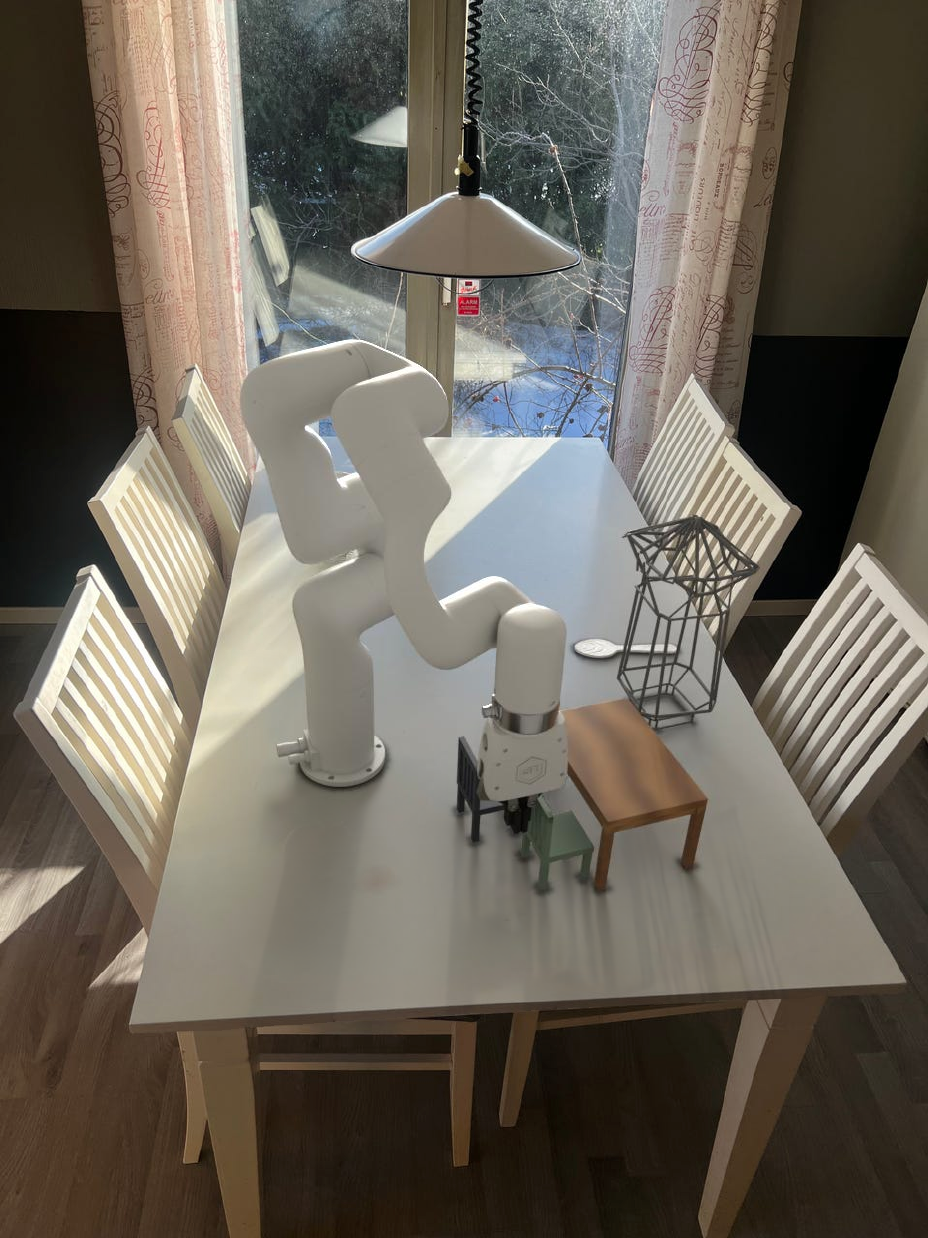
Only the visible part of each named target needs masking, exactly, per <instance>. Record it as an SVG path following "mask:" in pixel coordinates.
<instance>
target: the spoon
mask: <svg viewBox="0 0 928 1238" xmlns="http://www.w3.org/2000/svg"><path fill="white" fill-rule="evenodd" d="M664 644H665V643H656V644H655V649H654V653H653V654H663V651H664ZM651 645H652V643H650V644H646V643H645V644H632V646H631V650H630V653H644V654H647V653H648V654H650V650H651ZM623 647H624V644H615V643H613V642H611V641H609V640H607V639H603V638H589V639H584V640H581V641H578V642H577V643H575V645H574V651H575V652H576V653H578V654H579V655H582V656H584V657H588V658H594V659H606V658H610V657H612V656H614V655H616V653H620V652H621V653H622V652H623ZM627 648H628V645H627ZM676 649H677V646H676V645H674V644H673V643H668V649H667V654H675V653H676ZM626 652H627V649H626Z"/></svg>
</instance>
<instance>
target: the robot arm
mask: <svg viewBox="0 0 928 1238" xmlns="http://www.w3.org/2000/svg"><path fill="white" fill-rule="evenodd" d="M239 398H240V399H239V407H240V413H241V417H242V420H243V424H244V427H245V429H246V431H247V433H248V435H249V438H250V440H251V442H252V443H253V445H254V447H255V449H256V451H257V453H258V455H259V457H260V459H261V461H262V463H263V466H264V469H265V471H266V475H267V478H268V482H269V487H270V490H271V494H272V497H273V502H274V505H275V508H276V511H277V516H278V519H279V523H280V526H281V530H282V532H283V533H282V534H283V536H284V539H285V542H286V545H287V547H288V550H289V551H290V554H291V555H292V557H294V559H295V560H296V561H297V562H299V563H302V564H304V565H308V566H309V565H312V566H313V565H318V564H322V563H327V562H329V561H331V560H334V559H336V558H339V557H341V556H343V555H346V554H348V553H350V552H353V551H355V550H356V551H357V556H355V557H352V558H349V559H348V560H345V561H343V562H339V563H338V564H335V565H333V566H331V567H329V568H326V569H324V570H322V571H319V572H318V573H316V574H314V575H312V576H310V577H309V578H307V579H306V580H305V581H303V582H302V583H301V584H300V585H299V586H298V588H296V590H295V592H294V594H293V597H292V602H291V608H292V613H293V618H294V621H295V624H296V628H297V632H298V634H299V639H300V644H301V649H302V657H303V659H302V660H303V672H304V683H305V686H304V687H305V701H306V702H305V703H306V716H307V717H306V718H307V729H303V737H297V740H296V741H291V742H288V741H287V742H286V741H285V742H281V743H276V745H275V747H276V748H275V749H276V754H277V757H278V758H283V757H287V760H288V764H289V766H291V765H292V766H293V765H296V764H299V767H300V769H301V771H302V772H303V773H304V775H305V776H307V777H308V779H310V780H312V781H313V782H315V783H317V784H320V785H323V786H327V787H335V788H343V787H352V786H357V785H360V784H362V783H366V782H367V781H369V780H371V779H373V778H374V777H375V776H377V775H378V774H379V773H380V772H381V771H382V769H383V767H384V766H385V762H386V747H385V745H384V743H383V742H382V740H381V739H380V738H379V737H378V736H376V734H375V689H374V688H375V687H374V686H375V685H374V681H375V680H374V677H375V676H374V661H373V655H372V653H371V651H370V650H369V648H368V647H367V645H366V644H364V643H363V642H362V641H361V640H360V636H361V635H362V633H364V632H366V631H367V630H369V629H370V628H373V627H374V626H376V625H378V624H380V623H382V622H384V621H385V620H387V619H390V618H391V617H393V616H395V618H396V619H397V621H398V623H399V625H400V626H401V628H402V630H403V632H404V633H405V635H406V636H407V638H408V641H409V642H410V643H411V645H412V646H413V648H414V650H415V651H416V653H417V654H418V655H419V656H420V657H421V658H422V659H423V660H424V662H426V663H427V664H428V665H430V666H432V667H433V668H436V669H438V670H442V671H452V670H455V669H458V668H460V667H462V666H464V665H466V664H467V663H469V662H472V661H473V660H474V659H477V658H478V657H480V656H481V655H483V654H484V653H486V652H488V651H489V650H491V649H496V650H495V666H494V667H495V669H494V686H493V689H494V690H493V694H492V695H491V702H490V703H489V704H487V705H485V706H482V707H481V714H482V717H483V719H486V720H485V723H484V726H483V729H482V732H481V739H480V743H479V748H478V757H477V761H478V765H477V775H478V778H479V779H480V782H479V785H478V788H477V791H476V793H477V795H478V797H479V799H480V800H481V801H498V802H500V803H502V804H503V805H504V810H503V821H504V823H505V825H506V827H510V830H511V831H512V833H513V834H514V835H515V836H516V835H520V833H521V834H522V833H525V832H527V830H528V821H530V820H531V811H532V807H533V806H535V805H536V803H537V799H538V797H539V796H540V795H544V793H546V792H551V791H555V790H557V789H559V788H561V787H562V786H564V785H565V784H566V782H567V777H568V774H567V768H568V744H567V731H566V723H565V718H564V715H563V714H562V713H561V712H560V711H561V710H560V706H559V704H560V705H561V695H562V694H561V692H562V685H563V673H564V663H565V655H566V654H565V652H566V646H567V645H566V644H567V631H568V630H567V626H566V623H565V620H564V618H563V617H562V616H561V614H559V613H558V612H556V611H555V610H554V609H552V608H550V607H547V606H544V605H540V604H537V603H536V602H534V601H533V600H531V598H530V597H528V596H527V595H526V594H525V593H524V592H522V590H520V589H519V588H518V587H517V586H516V585H514V584H513V583H512V582H510V581H509V580H507V579H505V578H502V577H500V576H488V577H484V578H482V579H480V580H478V581H477V582H476V581H475V582H474V583H472V584H470V585H468V586H466V587H464V588H462V589H459V590H458V591H456V592H454V593H452V594H450V595H447V596H446V597H444V598H442V599H440V600H439V598H438V597H437V595H436V593H435V590H434V589H433V587H432V585H431V583H430V581H429V577H428V574H427V571H426V565H425V549H426V543H427V540H428V536H429V534H430V531H431V530H432V528H433V525H434V524H435V522H436V520H437V519H438V518H439V516H440V515H441V514H442V513H443V512H444V510H445V509H447V506H448V505H449V503H450V501H451V499H452V495H453V492H452V487H451V486H450V484H449V482H448V480H447V478H446V477H445V475H444V473H443V472H442V469H441V468H440V466H439V465H438V462H437V461H436V459H435V457H434V456H433V454H432V451H431V450H430V448H429V447H428V444H427V443H426V441H425V439H426V438H429V437H432V436H434V435H436V434H438V433H440V431H442V430H443V429H444V428H445V426H446V424H447V422H448V419H449V413H450V409H449V408H450V407H449V400H448V398H447V394H446V392H445V391H444V388H443V387H442V385H441V384H440V382H439V381H438V380H437V379H436V377H435V376H433V374H432V373H430V372H429V371H428V370H427V369H425V368H424V367H422V366H420V365H419V364H417V363H415V362H413V361H411V360H409V359H407V358H405V357H403V356H400V355H398V354H395V353H394V352H391V351H389V350H386V349H384V348H382V347H380V346H378V345H376V344H373V343H372V342H371V343H370V342H368V341H365V340H360V339H346V340H340V341H337V342H332V343H329V344H325V345H321V346H317V347H313V348H308V349H304V350H299V351H296V352H292V353H288V354H284V355H281V356H278V357H276V358H273V359H269V360H267V361H265V362H263V363H261V364H259V365H258V366H256V367H254V368H253V369H252V370H251V371H250V372H249V373H248V374H247V375H246V377H245V379H243V382H242V384H241V389H240V395H239ZM328 419H330V422H331V425H332V429H333V431H334V433H335V434H336V437H337V439H338V441H339V442H340V444H341V446H342V448H343V450H344V451H345V454H346V455H347V457H348V459H349V460H350V462H351V464H352V467H353V468H354V470H355V471H356V472H354V473H349V474H350V475H347V476H344V477H341V478H339V479H338V478H337V475H336V472H337V471H336V469H335V464H334V460H333V455H332V453H331V450H330V448H329V447H328V445H327V443H326V442H325V441H324V440H323V439H322V438H321V437H320V435H319V434H318V433H317V432H316V431H315V430H314V429H312V428H311V427H310V426H309V425H313V424H315V423H318V422H322V421H325V420H328Z"/></svg>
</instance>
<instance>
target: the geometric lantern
mask: <svg viewBox="0 0 928 1238" xmlns="http://www.w3.org/2000/svg"><path fill="white" fill-rule="evenodd" d="M671 526H672V527H671ZM666 527H671V528H669V529H667V530H665V531H656V530H657V529H661V528H666ZM652 530H655V531H652ZM705 530H706V531H707V532H708V533H709V534H710V535H711V536H713V537H714V539H716V540H717V541H718V545H719V549H720V553H721V557H722V560H721V561H720V562H719V563H718V564H717V565H716V563H715V560H714V557H713V554H712V551H711V549H710V545H709V542H708V539H707V537H706V534H705ZM646 536H660V537H658V538H657V539H656V540H654V541H653V540H652V539H649V538H647V537H646ZM635 537H636V538H638V539H640V540H642V541H643V542H645V543H648V545H647V546H645V547H643V545H641V544H640V543H639V542H638V541H637V540H636V538H635ZM668 537H669V538H668ZM700 537H701V539H702V544H703V546H704V548H705V552H706V554H707V558H708V560H709V563H710V567H711V569H712V570H710V572H709V573H707V575H705V576H704V577H700ZM621 538H622V539H624V538H627V540H628V542H629V546H630V548H631V550H632V552H633V555H634V557H635V559H636V564H635V565H636V566H635V571H636V572H640V573H641V574H642V576H641V580H640V581H641V582H639V583H638V584H635V585H634V588H635V593H634V598H633V602H632V606H631V611H630V615H629V620H628V625H627V629H626V634H625V638H624V643H623V645H624V647H623V652H621V657H620V661H619V665H618V671H617V675H616V680H617V681H618V682H619V684H620V686H621V687H622V689H623V691H624V692H625V694H626V696H627V698H628V699H629V701H630V702H631V703H632V704H633V706H634V707H635V708H636V709H637V711H638V712H639V713H640V714H641V716H642V717H643V718H644V719H647V720H648V722H647V723H648V724H649V726H650V727H651V728H652V729H653V731H659V730H663V729H669V728H674V727H679V726H683V725H689V724H692V723H694V718H695V715H700V714H708V713H712V712H713V711H714V708H715V707H716V704H717V700H718V694H719V693H718V692H719V686H720V678H721V670H722V667H723V659H724V653H725V646H726V640H727V634H728V633H727V632H728V627H729V620H730V614H731V601H732V592H733V586H734V585H736V584H738V583H740V582H742V581H743V580H745V579H747V578H750V577H752V576H753V575H756V574H757V573H758V571H759V570H760V569H761V566H760V565H759V564H757V563H756V562H755V561H754V560H753V559H752V558H750V556H748V555H747V554H746V553H744V551H742V550H741V549H740V548H738V547H737V545H735V544H734V543H733V542H732V541H731V540H729V539H728V538H727V537H726V536H725V533H724V532H722V530H721V529H720V528H719V525H717V524H715V523H713V522H711V521H709V520H706V519H705V518H704V517H703V516H699V515H698V514H694V513H693V514H692V516H686V517H682V518H678V519H677V518H676V519H673V520H669V521H665V522H661V523H656V524H653V525H649V526H644V527H640V528H636V529H631V530H628V531H626V532H625V533H624V534H622V536H621ZM667 538H668V539H667ZM676 538H677V541H676V545H675V547H672V546H671V547H669V545H670V544H671V543H672V542H673V541H674V540H675V539H676ZM666 539H667V540H666ZM664 540H666V541H665V542H664ZM693 541H695V542H694V546H695V547H694V566H693V564H692V562H691V561H690V559H689V558H688V556H687V552H688V549H689V546H690V544H691V543H692V542H693ZM663 542H664V543H663ZM636 547H637V548H636ZM653 547H655V548H657V549H656V550H655V551H654V552H653V553H652V554H651V555H650V556H649V554H648V553H647V552H648V550H650V549H652V548H653ZM725 549H726V550H727V551H728V554H727V555H726V550H725ZM638 550H639V552H638ZM662 551H664V552H674V554H673V555H672V557H671V559H670V561H669V563H668V565H667V566H666V568H665V570H664V572H661V571H660V570H659V569H658V567H656V566H655V565H654V564H655V562H656V560H657V559H658V556H659V555H660V553H662ZM680 553H682V556H681V559H680V561H679V564H678V566H677V569H676V572H675V574H674V576H668V575H669V573H670V571H671V570H672V567H673V565H674V564H675V562H676V560H677V559H678V557H679V556H680ZM640 555H642V556H643V558H644V559H645V561H642V560H641V557H640ZM731 556H733V557H734V559H735V560H736V563H735V565H734V568H733V567H732V566H731V564H730V563H729V561H730V559H731ZM684 559H685V560H686V561H687V563H688V565H689V566H690V568H691V570H692V571H693V574H694V575H693V574H687V575H678V574H679V571H680V570H681V566H682V564H683V562H684ZM740 562H741V563H742V564H743V565H744V566H745V568H741V569H738V567H739V564H740ZM646 565H647V567H648V568H647V570H646ZM723 565H725V567H726V568H727V570H728V572H730V574H728V575H722V576H720V575H719V573H718V572H719V571H718V570H719V569H720V568H721V567H722V566H723ZM651 571H653V572H654V573H655V574H656V575H650V572H651ZM712 575H714V577H711V576H712ZM734 578H735V579H734ZM671 580H672V581H671ZM726 580H730V582H728V583H725V584H724V585H721V586H720V587H718V588H717V586H718V582H721V581H726ZM652 582H664V583H667V584H670V585H674V584H675V585H677V586H678V587H680V588H682V589H683V590H685V591H686V592H688V597H687V600H686V601H685V602H684V603H683V604H682V605H681V606H679V607H678V608H677V609H675V611H673V612H672V613H671V614H670V615H668V616H667V615H666V614H664V613H662V612H660V610H659V606H658V604H657V601H656V597H655V593H654V591H653V588H652V585H651V583H652ZM685 582H691V585H690V587H689V586H688V585H686V584H685ZM699 582H700V583H702V584H701V591H700V592H699V593H698V589H699ZM708 582H709V583H711V582H713V588H712V587H711V586H710V584H709V583H708ZM641 587H642V588H641ZM706 587H707V588H708V590H707V591H706ZM728 588H729V594H728V600H727V601H728V603H726V602H725V601H724V600H723V599H722V598H721V596H720V595H719V594H718V593H720V592H722V591H724V590H725V589H728ZM647 589H648V592H649V595H650V598H651V602H652V604H651V602H650V601H649V600H648V598H647V597H646V596H645V593H646V590H647ZM712 595H713V598H714V600H715V603H716V607H717V610H718V613H709V614H702V611H703V605H704V598H705V597H708V596H712ZM694 598H695V599H697V598H699V602H698V609H697V615H690V616H689V612H690V607H691V603H692V600H693V599H694ZM644 601H645V603H646V604H647V605H648V607H649V608H650V610H651V611H652V612H653V614H654V615H655V616H656V621H655V626H654V631H653V635H652V641H651V644H652V645H651V644H650V645H651V650H650V653H648V654H649V655H648V660H647V664H645V665H637V666H630V667H627V666H628V662H629V658H630V654H631V652H630V650H631V646H632V645H633V642H634V638H635V633H636V630H637V625H638V621H639V618H640V613H641V610H642V605H643V602H644ZM637 603H638V604H637ZM721 604H722V605H723V606H724V608H726V609H724V610H723V608H722V605H721ZM684 607H685V611H684V615H683V616H682V617H673V616H675V615H676V614H677V613H678V612H679V611H681V609H682V608H684ZM712 617H719V618H718V625H717V626H718V627H717V636H716V642H715V651H714V658H713V659H714V660H713V667H712V676H711V683H710V684H711V685H710V689H708V687H707V686H706V684H705V683H704V682H703V681H702V679H701V678H700V676H699V675H698V673H696V671H695V670H694V668H693V667H694V661H695V654H696V648H697V641H698V636H699V629H700V623H701V619H702V618H703V619H704V618H712ZM661 619H664V620H665V621H667V624H666V630H665V638H664V643H663V644H664V651H663V653H662V660H661V662H660V663H653V664H652V662H653V657H654V654H655V653H654V649H655V644H657V638H658V633H659V629H660V623H661ZM694 619H695V620H696V622H695V628H694V633H693V640H692V648H691V653H690V660H689V665H687V664H684V663H682V662H679V661H678V658H679V654H680V650H681V646H682V642H683V639H684V638H683V637H684V633H685V628H686V625H687V620H694ZM675 621H682V624H681V628H680V632H679V637H678V641H677V646H676V648H677V649H676V653H674V657H673V661H670V662H667V656H668V653H667V649H668V644H669V643H670V642H669V641H670V634H671V627H672V622H675ZM723 623H724V624H723ZM722 629H723V631H722ZM627 645H628V648H627ZM626 649H627V652H626ZM669 666H671V667H670V672H669V677H668V681H667V682H664V677H665V669H666V667H669ZM675 666H678V667H681V668H683V669H685V670H684V672H683V673H682V674H681V675H680V676H679V677H678V679H677V680H676V681H675V682H674V684H673V683H671V682H672V677H673V672H674V669H675V668H674V667H675ZM653 668H660V674H659V680H658V684H655V685H649V686H647V684H648V681H649V676H650V671H651V669H653ZM637 670H645V674H644V677H643V682H642V687H640V688H636V689H633V687H632V685H631V682H630V680H629V678H628V676H627V674H626V672H629V671H631V672H632V671H637ZM689 671H690V673H691V674H692V675H693V677H694V679H696V681H697V682H698V683H699V685H700V686H701V688H703V691H704V692H705V693H706V694H707V696H708V697H709V699H708V701H707V702H705V703H702V704H700V705H699V706H697V707H695V706H694V704H693V703H692V702H691V701H690V700H689V699H688V698H687V696H685V694H684V693H682V691H681V690H680V689H679V688H678V687H677V685H678V684H679V682H681V680H682V679H683V678H684V677H685V675H686V674H688V672H689ZM622 676H623V677H624V680H625V682H626V684H627V685H626V684H625V682H624V681H623V679H622ZM669 686H670V687H672V689H671V692H668V690H669ZM663 687H665V690H664V691H663ZM656 688H658V689H657V693H655V694H650V695H646V690H650V689H656ZM662 691H663V692H662ZM675 691H676V692H677V693H678V694H679V695H680V696H681V697H682V698H683V699H684V700H685V702H686V703H687V704H688V705H689V706H690V708H692V709H693V710H688V708H686V706H685V705H684V704H683V703H682V702H681V701H680V699H678V697H677V696H676V695H675ZM636 692H637V693H638V692H641V693H640V697H636V696H635V695H634V694H635V693H636ZM662 696H670V697H673V699H674V700H675V701H676V703H678V705H680V707H681V708H682V709H683V710H684V711H679V712H671V713H670V712H669V713H662V714H659V713H660V705H661V697H662ZM651 698H656V703H655V711H654V712H655V713H651V712H647V711H646V709H645V708H644V706H643V704H644V701H645V699H651ZM707 705H708V708H706V709H702V708H704V707H705V706H707ZM686 716H689V717H690V720H686V721H682V722H677V723H671V724H667V725H662V726H659V722H660V721H666V720H670V719H675V718H680V717H681V718H682V717H686ZM652 722H655V724H654V727H652V726H651V725H652ZM658 726H659V727H658Z"/></svg>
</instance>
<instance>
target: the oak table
mask: <svg viewBox="0 0 928 1238" xmlns="http://www.w3.org/2000/svg"><path fill="white" fill-rule="evenodd" d="M559 711H560V712H561V713H562V714H563V715H564V718H565V723H566V731H567V744H568V768H567V776H568V777H569V779H570V780H571V782H572V784H573V785H574V786H575V788H576V789H577V791H578V792H579V794H580V796H581V798H583V800H584V802H585V804H586V805H587V806H588V808H589V809H590V811H591V813H592V814H593V816H594V817H595V819H596V820H597V822H598V823H599V825H600V826H601V833H600V838H599V839H600V840H599V846H598V852H597V859H596V864H595V865H596V866H595V873H594V880H593V886H594V887H595V889H596V891H597V892H598V891H602V890H606V889H607V883H608V876H609V869H610V864H611V859H612V858H611V857H612V851H613V845H614V838H615V833H619V832H624V831H628V830H632V829H636V828H640V827H644V826H648V825H652V824H657V823H662V822H665V821H669V820H673V819H677V818H683V817H686V816H690V817H689V822H688V826H687V831H686V836H685V842H684V845H683V850H682V855H681V859H680V863H681V865H682V866H683V867H684V869H689V868H692V867H694V864H695V860H696V854H697V850H698V845H699V842H700V837H701V833H702V827H703V823H704V819H705V814H706V810H707V805H708V800H709V798H708V797H707V795H706V794H705V793H704V791H703V790H702V789H701V788H700V787H699V786H698V785H697V783H696V782H695V781H694V779H693V778H692V777H691V776H690V774H689V773H688V771H687V770H686V769H685V768H684V767H683V766H682V765H681V763H680V762H679V760H678V759H677V757H676V756H674V754H673V753H672V752H671V750H670V749H669V748H668V747H667V745H666V744H665V743H664V741H663V740H662V739H661V738H660V737H659V736H658V734H657V733H656V732H655V730H653V729H652V728H653V727H652V726H649V724H648V723H649V722H647V720H646V718H645V717H643V716H641V714H640V713H639V712H638V711H637V709H636V708H635V707H634V706H633V704H632V702H630V701H629V697H624V698H618V699H614V700H608V701H603V702H598V703H594V704H593V703H592V704H589V705H588V704H587V705H583V706H577V707H573V708H567V709H563V710H559ZM651 727H652V728H651Z"/></svg>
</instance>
